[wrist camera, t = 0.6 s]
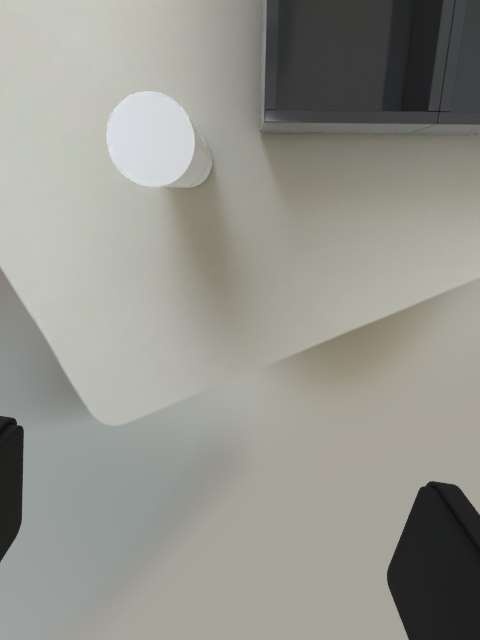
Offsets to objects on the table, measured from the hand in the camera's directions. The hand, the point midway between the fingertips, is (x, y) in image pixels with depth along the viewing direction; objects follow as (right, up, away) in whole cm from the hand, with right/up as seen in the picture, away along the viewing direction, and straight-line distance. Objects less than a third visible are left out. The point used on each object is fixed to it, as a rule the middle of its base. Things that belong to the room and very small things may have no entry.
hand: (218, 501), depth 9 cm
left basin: (+8, +26, +22) cm, 35 cm away
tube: (-4, +18, +25) cm, 31 cm away
